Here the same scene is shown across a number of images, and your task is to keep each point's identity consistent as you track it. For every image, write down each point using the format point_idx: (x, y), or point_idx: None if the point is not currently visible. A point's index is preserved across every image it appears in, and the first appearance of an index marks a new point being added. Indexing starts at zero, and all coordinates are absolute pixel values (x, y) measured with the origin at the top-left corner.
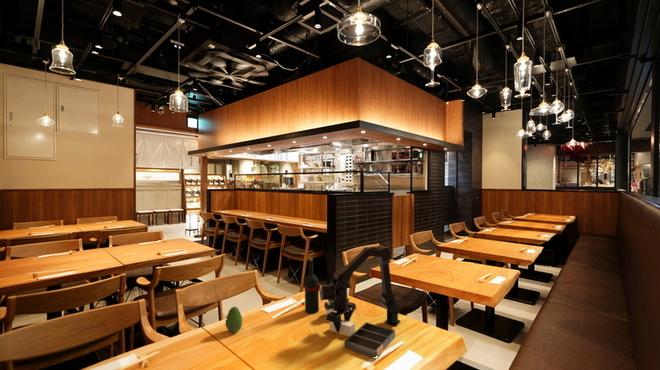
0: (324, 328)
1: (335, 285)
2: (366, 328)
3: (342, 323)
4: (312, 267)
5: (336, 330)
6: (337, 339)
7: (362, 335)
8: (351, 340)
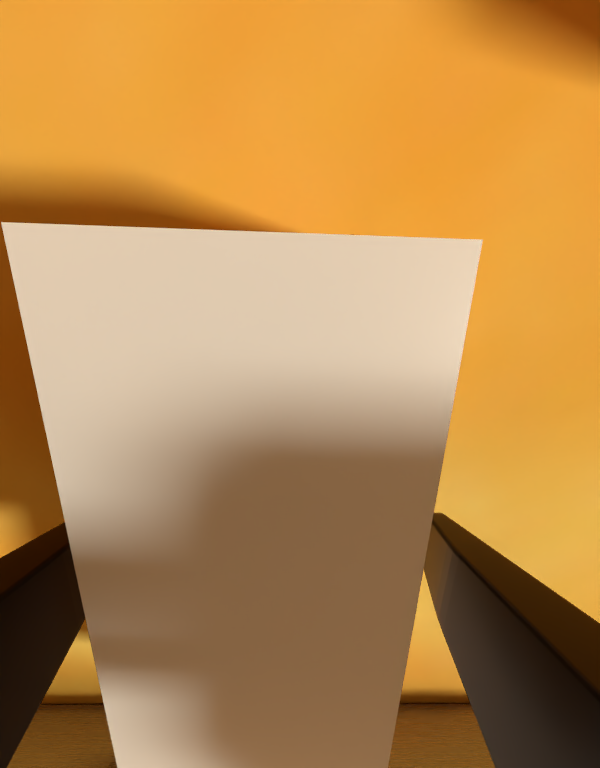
0: (161, 69)
1: None
2: None
3: (165, 758)
4: None
5: (58, 533)
6: (11, 550)
7: None
8: (66, 758)
